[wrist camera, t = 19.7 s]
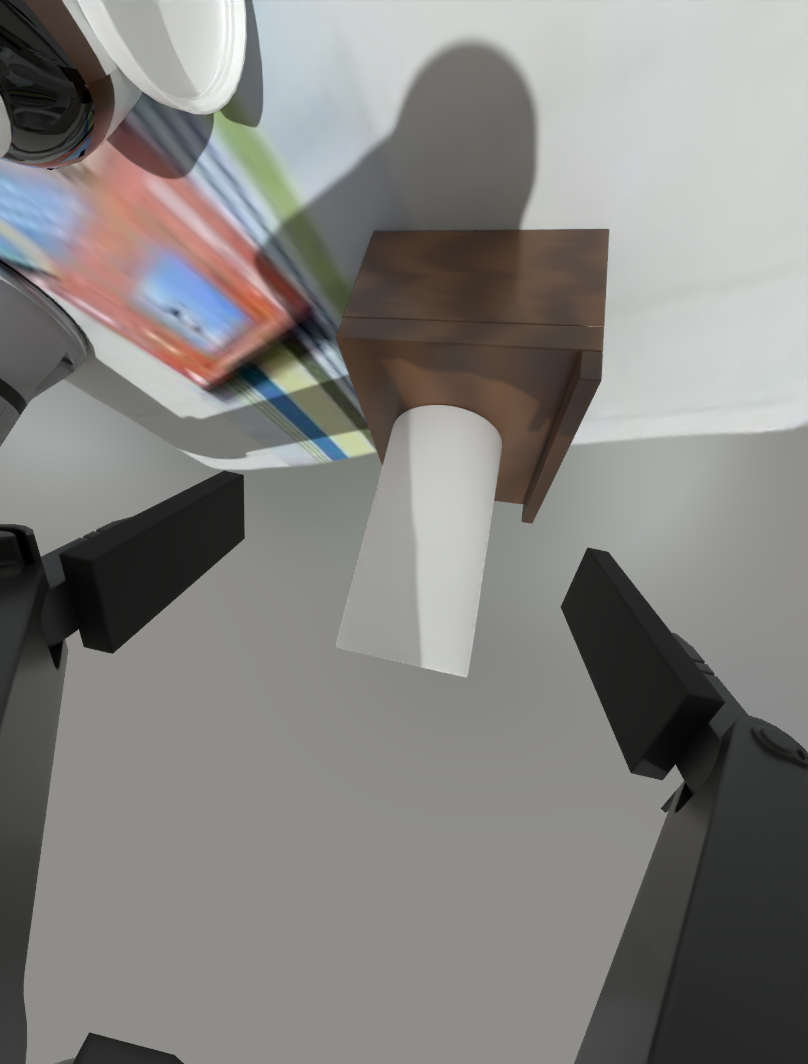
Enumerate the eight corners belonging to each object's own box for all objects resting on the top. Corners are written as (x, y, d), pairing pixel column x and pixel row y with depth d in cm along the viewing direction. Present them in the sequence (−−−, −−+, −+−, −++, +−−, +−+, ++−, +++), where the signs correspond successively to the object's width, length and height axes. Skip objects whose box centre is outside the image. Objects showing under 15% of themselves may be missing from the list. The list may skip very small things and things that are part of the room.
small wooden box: (408, 413, 41) (385, 503, 37) (373, 230, 24) (325, 362, 20) (543, 425, 38) (532, 523, 34) (609, 228, 21) (601, 380, 18)
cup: (515, 416, 24) (478, 680, 19) (489, 477, 32) (458, 675, 26) (390, 395, 25) (321, 644, 19) (394, 459, 32) (346, 649, 27)
